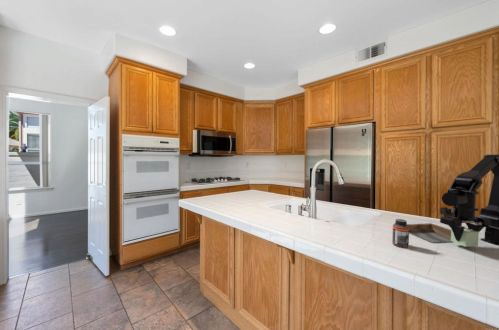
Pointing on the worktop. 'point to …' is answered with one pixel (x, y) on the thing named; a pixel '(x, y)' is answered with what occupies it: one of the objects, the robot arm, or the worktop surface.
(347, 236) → the worktop surface
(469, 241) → the cube
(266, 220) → the worktop surface
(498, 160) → the robot arm
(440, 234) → the corner arena
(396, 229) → the supplement bottle
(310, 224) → the worktop surface
